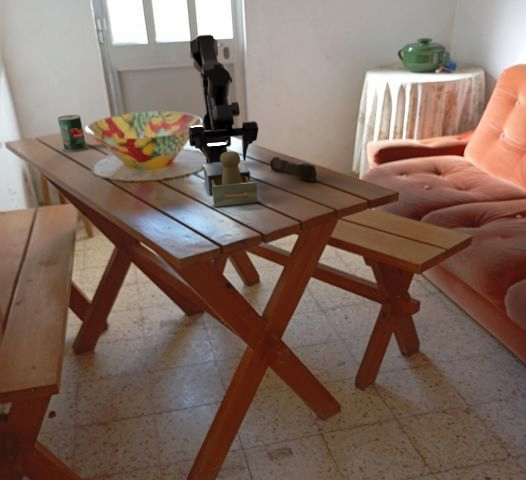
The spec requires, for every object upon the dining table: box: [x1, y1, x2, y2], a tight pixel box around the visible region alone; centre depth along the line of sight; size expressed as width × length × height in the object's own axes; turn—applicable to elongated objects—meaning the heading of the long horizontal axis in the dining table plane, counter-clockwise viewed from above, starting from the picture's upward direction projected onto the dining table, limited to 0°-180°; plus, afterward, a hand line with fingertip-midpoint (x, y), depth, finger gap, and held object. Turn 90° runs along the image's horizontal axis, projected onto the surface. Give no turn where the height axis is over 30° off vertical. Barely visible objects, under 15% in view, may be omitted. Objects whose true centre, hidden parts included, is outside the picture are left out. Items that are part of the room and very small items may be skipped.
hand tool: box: [269, 156, 317, 183], centre depth 165 cm, size 19×4×5 cm, turn 35°
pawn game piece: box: [220, 150, 242, 185], centre depth 148 cm, size 6×6×11 cm
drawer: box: [211, 174, 258, 207], centre depth 149 cm, size 16×12×5 cm
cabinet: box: [202, 159, 251, 197], centre depth 159 cm, size 13×12×6 cm
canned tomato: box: [57, 114, 87, 152], centre depth 203 cm, size 8×8×11 cm
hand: (228, 161), depth 151 cm, fingers open, 9 cm apart
